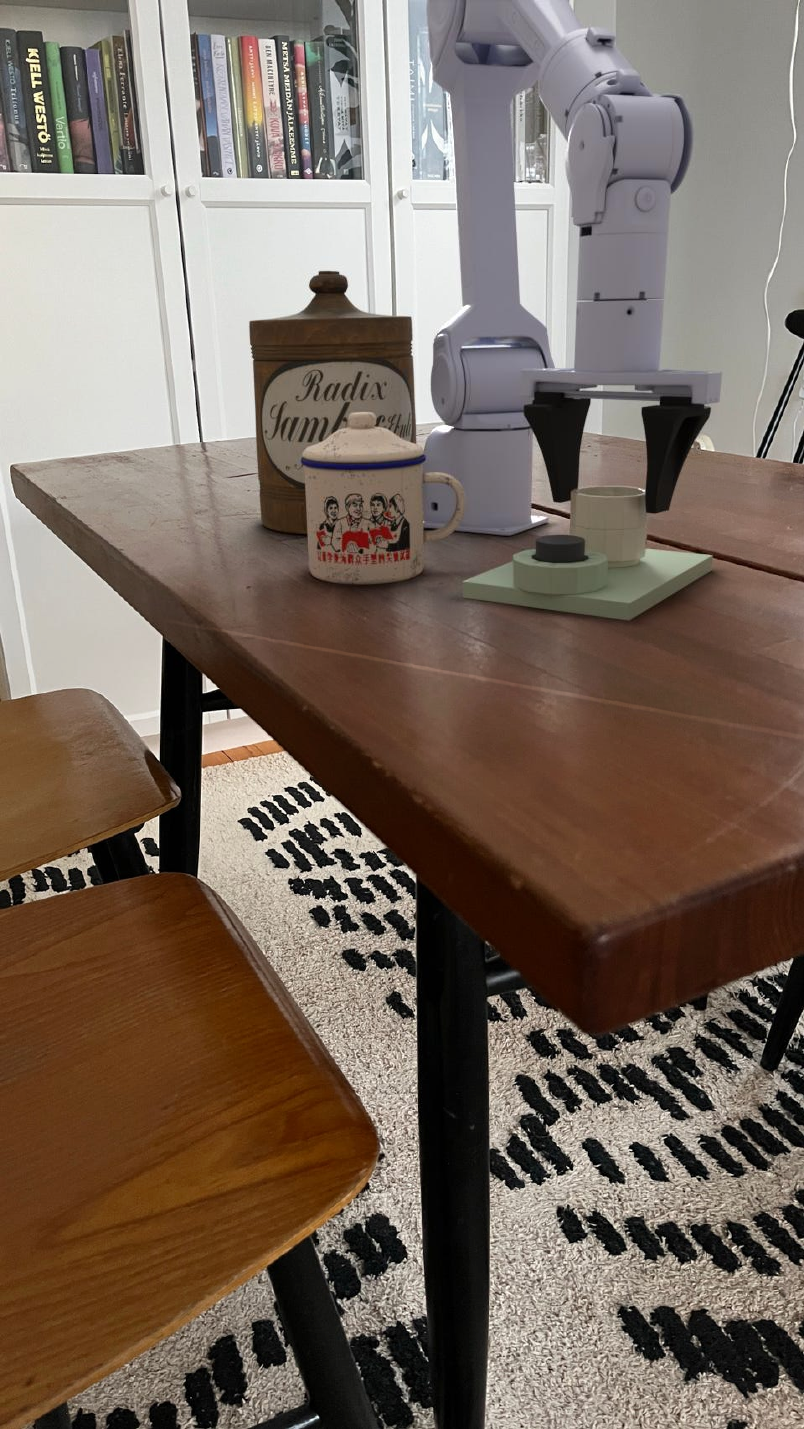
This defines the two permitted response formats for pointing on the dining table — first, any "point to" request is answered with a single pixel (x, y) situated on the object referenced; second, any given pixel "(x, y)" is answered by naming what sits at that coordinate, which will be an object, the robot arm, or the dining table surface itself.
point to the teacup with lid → (369, 505)
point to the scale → (589, 582)
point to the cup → (611, 522)
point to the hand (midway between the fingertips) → (609, 506)
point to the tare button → (560, 549)
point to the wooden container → (323, 388)
